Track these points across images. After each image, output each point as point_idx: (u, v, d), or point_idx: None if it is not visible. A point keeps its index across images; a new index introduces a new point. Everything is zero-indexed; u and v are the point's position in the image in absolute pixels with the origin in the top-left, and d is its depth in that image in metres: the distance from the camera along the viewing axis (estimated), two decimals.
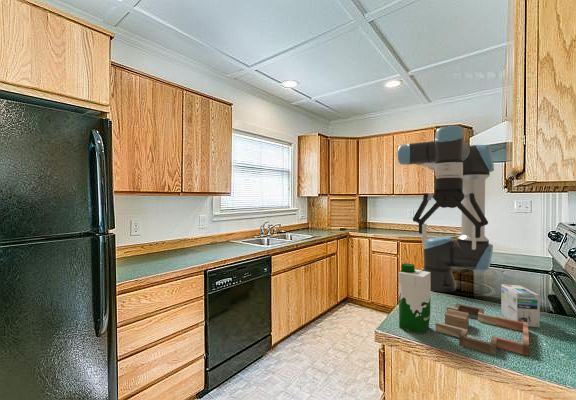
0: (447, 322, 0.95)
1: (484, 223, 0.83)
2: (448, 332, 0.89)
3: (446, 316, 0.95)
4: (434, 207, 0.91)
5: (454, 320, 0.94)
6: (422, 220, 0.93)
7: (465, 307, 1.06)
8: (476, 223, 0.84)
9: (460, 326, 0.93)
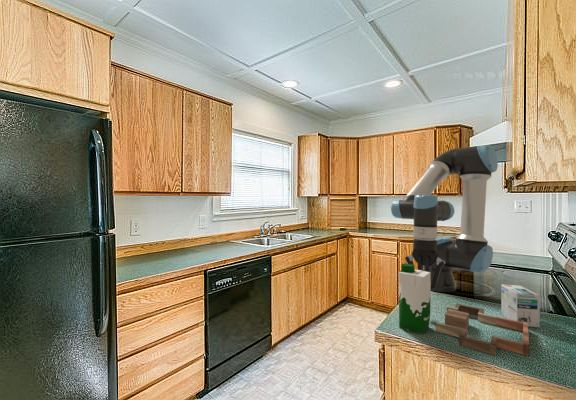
0: (447, 322, 0.95)
1: (432, 286, 0.99)
2: (448, 332, 0.89)
3: (446, 316, 0.95)
4: (419, 267, 1.02)
5: (454, 320, 0.94)
6: None
7: (465, 307, 1.06)
8: None
9: (460, 326, 0.93)
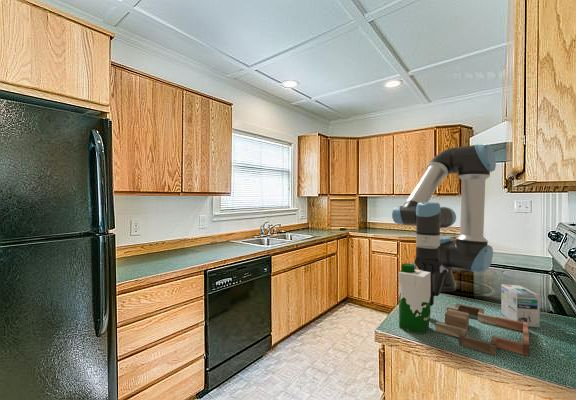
0: (447, 322, 0.95)
1: (435, 294, 0.99)
2: (448, 332, 0.89)
3: (446, 316, 0.95)
4: None
5: (454, 320, 0.94)
6: None
7: (465, 307, 1.06)
8: None
9: (460, 326, 0.93)
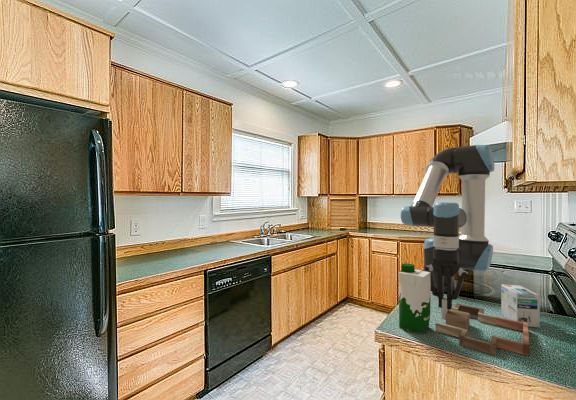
0: (448, 322, 0.95)
1: (454, 297, 0.95)
2: (448, 332, 0.89)
3: (447, 316, 0.95)
4: (440, 278, 0.98)
5: (455, 320, 0.94)
6: (440, 294, 0.98)
7: (465, 307, 1.06)
8: (449, 297, 0.96)
9: (461, 326, 0.93)
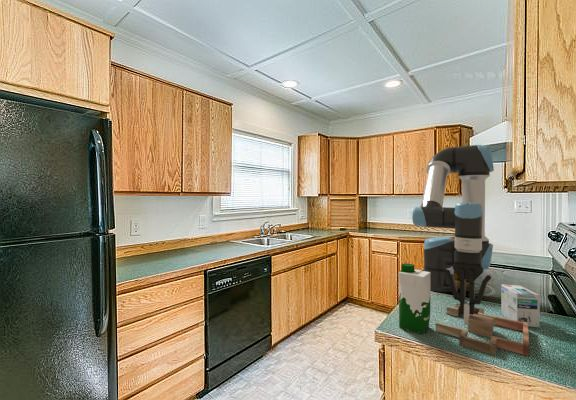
0: (471, 328, 0.91)
1: (477, 302, 0.91)
2: (448, 332, 0.89)
3: (470, 321, 0.91)
4: (462, 281, 0.94)
5: (479, 325, 0.89)
6: (462, 298, 0.94)
7: None
8: (471, 301, 0.92)
9: (485, 332, 0.89)
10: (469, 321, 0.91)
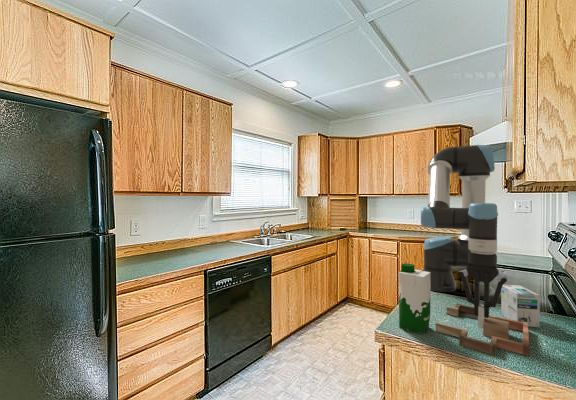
0: (486, 332, 0.88)
1: (492, 305, 0.89)
2: (448, 332, 0.89)
3: (485, 325, 0.89)
4: (476, 284, 0.91)
5: (494, 330, 0.87)
6: (476, 301, 0.91)
7: (465, 307, 1.06)
8: (486, 304, 0.90)
9: (501, 336, 0.86)
10: (484, 325, 0.89)
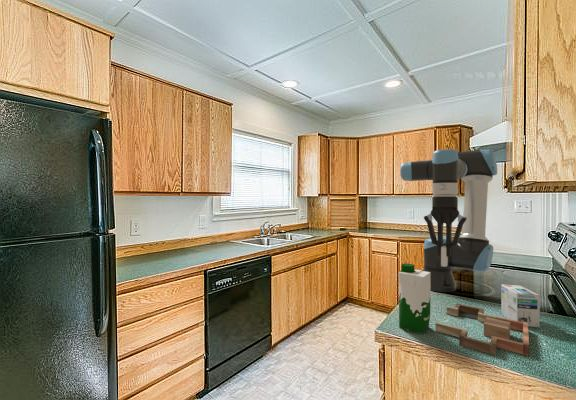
0: (486, 332, 0.88)
1: (453, 244, 0.95)
2: (448, 332, 0.89)
3: (485, 325, 0.89)
4: (439, 226, 0.98)
5: (495, 330, 0.87)
6: (439, 242, 0.98)
7: (465, 307, 1.06)
8: (448, 244, 0.96)
9: (501, 336, 0.86)
10: (485, 325, 0.89)
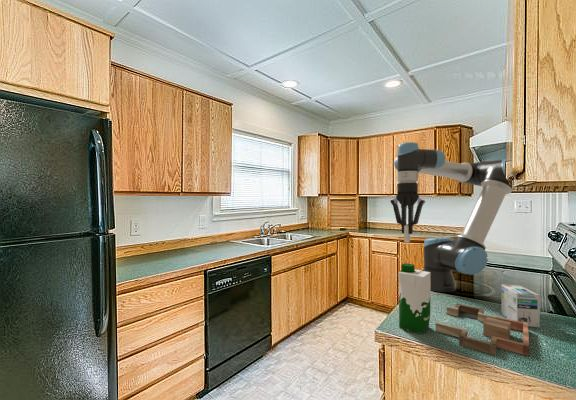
0: (486, 332, 0.89)
1: (414, 222, 1.12)
2: (448, 332, 0.89)
3: (485, 325, 0.89)
4: (403, 207, 1.15)
5: (494, 330, 0.87)
6: (403, 221, 1.15)
7: (465, 307, 1.06)
8: (409, 223, 1.14)
9: (501, 336, 0.86)
10: (484, 325, 0.89)
